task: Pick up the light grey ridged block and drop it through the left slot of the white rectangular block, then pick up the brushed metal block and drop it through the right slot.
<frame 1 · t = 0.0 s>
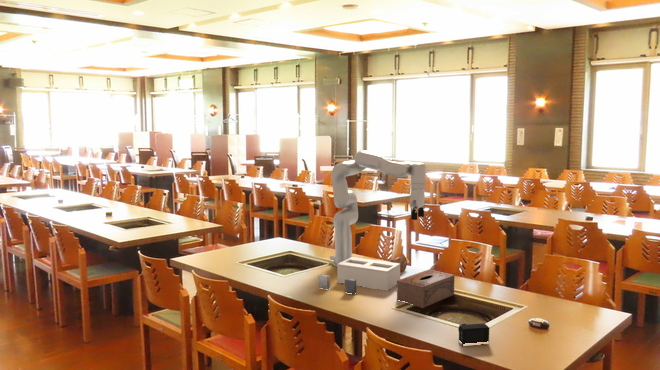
hand: (417, 218, 296), 31 cm above the table, tool pointing down, fingers open, 9 cm apart
tin: (397, 273, 305), on the table
brushed metal block: (350, 293, 270), on the table
white rectangular block: (368, 282, 287), on the table
digital camera: (473, 343, 212), on the table
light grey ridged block: (324, 289, 278), on the table
tissue box cover: (425, 298, 264), on the table
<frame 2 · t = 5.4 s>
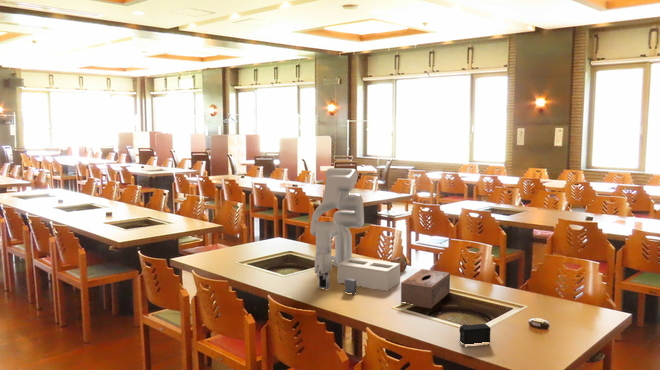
hand: (324, 285, 278), 2 cm above the table, tool pointing down, fingers closed on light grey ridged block, 2 cm apart
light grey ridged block: (324, 288, 278), on the table, touching gripper
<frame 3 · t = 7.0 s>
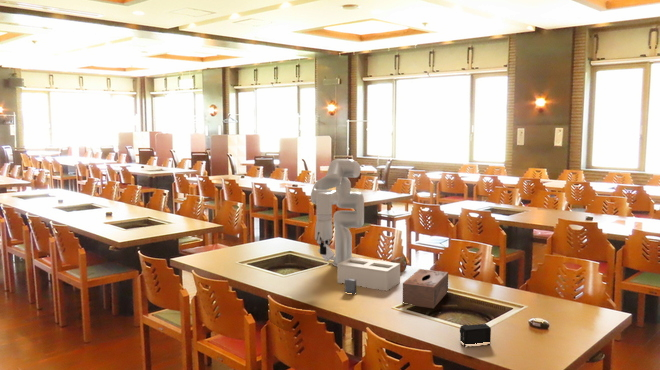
hand: (324, 253, 276), 18 cm above the table, tool pointing down, fingers closed on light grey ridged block
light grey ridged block: (330, 258, 274), point 16 cm above the table, tilted 42°, touching gripper
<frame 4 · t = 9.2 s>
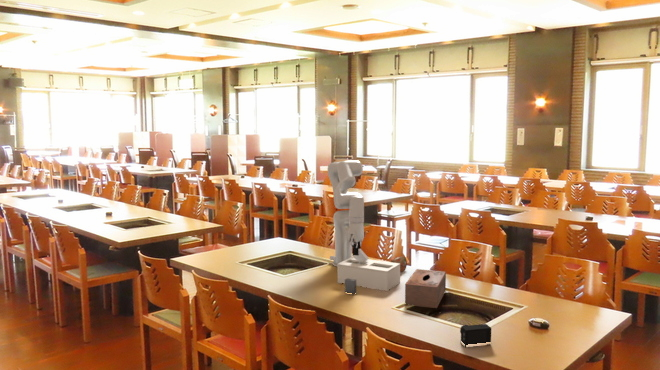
hand: (356, 254, 289), 14 cm above the table, tool pointing down, fingers closed on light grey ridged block
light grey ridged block: (365, 262, 287), point 11 cm above the table, tilted 47°, touching gripper
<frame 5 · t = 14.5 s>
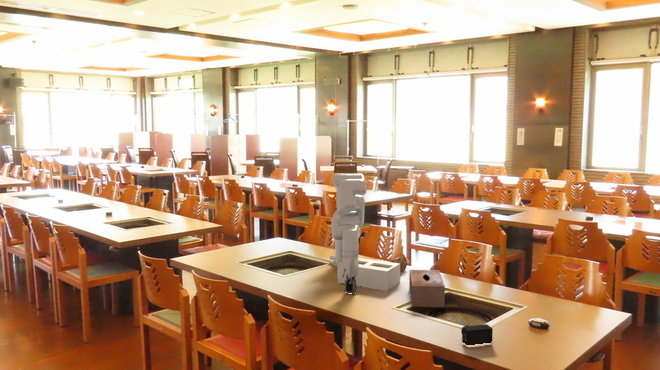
hand: (350, 290, 270), 2 cm above the table, tool pointing down, fingers closed on brushed metal block, 2 cm apart
brushed metal block: (350, 293, 270), on the table, touching gripper
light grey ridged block: (364, 275, 288), point 3 cm above the table, tilted 90°, touching white rectangular block
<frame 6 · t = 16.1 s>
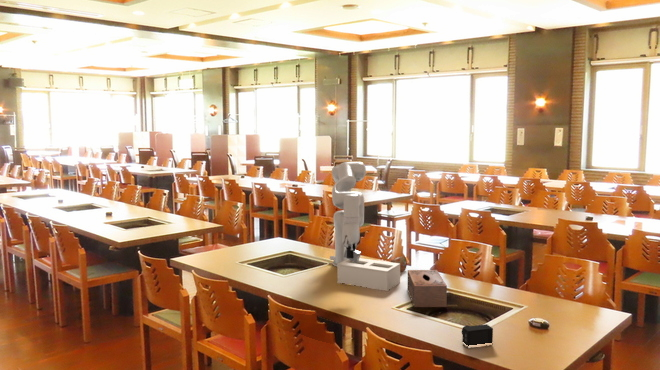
hand: (351, 257, 269), 18 cm above the table, tool pointing down, fingers closed on brushed metal block
brushed metal block: (358, 257, 267), point 18 cm above the table, tilted 72°, touching gripper
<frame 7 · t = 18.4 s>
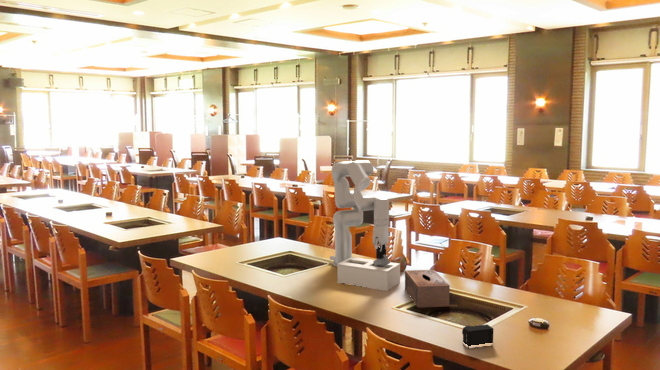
hand: (381, 257, 282), 14 cm above the table, tool pointing down, fingers open, 3 cm apart
brushed metal block: (386, 259, 281), point 14 cm above the table, tilted 125°
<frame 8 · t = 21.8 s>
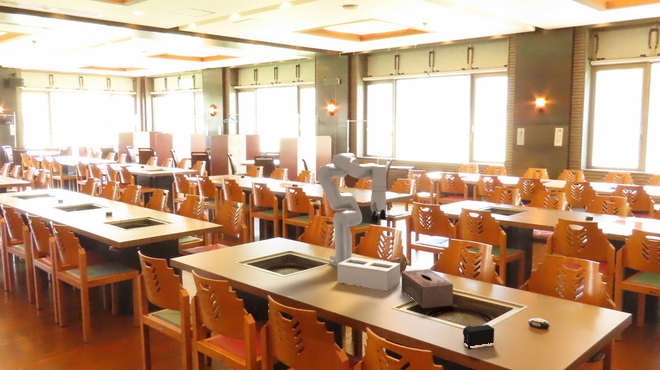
hand: (378, 220, 294), 30 cm above the table, tool pointing down, fingers open, 9 cm apart
brushed metal block: (391, 280, 280), point 3 cm above the table, tilted 90°, touching white rectangular block
at the end: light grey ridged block inside the target area on the white rectangular block (2.5 cm from its centre), point 3.3 cm above the white rectangular block's base; brushed metal block inside the target area on the white rectangular block (13.0 cm from its centre), point 3.3 cm above the white rectangular block's base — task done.
